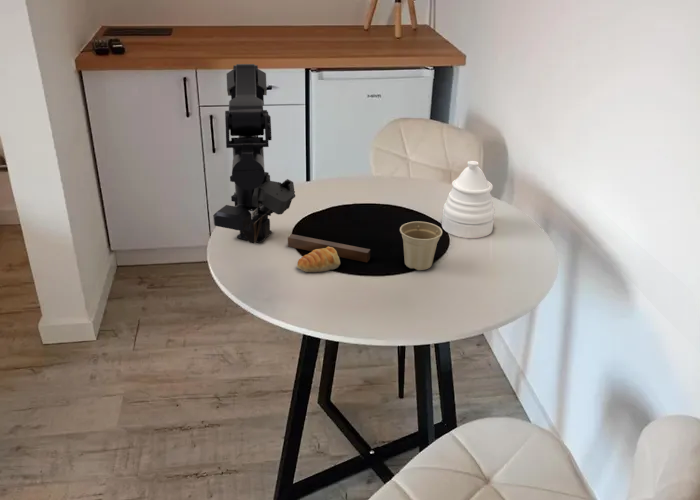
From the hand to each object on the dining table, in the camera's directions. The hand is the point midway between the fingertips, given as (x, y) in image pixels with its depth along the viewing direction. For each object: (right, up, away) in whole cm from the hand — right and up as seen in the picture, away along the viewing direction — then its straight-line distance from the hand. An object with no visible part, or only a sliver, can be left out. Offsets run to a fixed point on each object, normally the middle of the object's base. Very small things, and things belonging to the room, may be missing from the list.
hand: (252, 242), depth 137 cm
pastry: (+13, -5, +17) cm, 22 cm away
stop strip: (+15, -2, +22) cm, 27 cm away
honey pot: (+49, +4, +37) cm, 62 cm away
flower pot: (+35, -5, +19) cm, 40 cm away
